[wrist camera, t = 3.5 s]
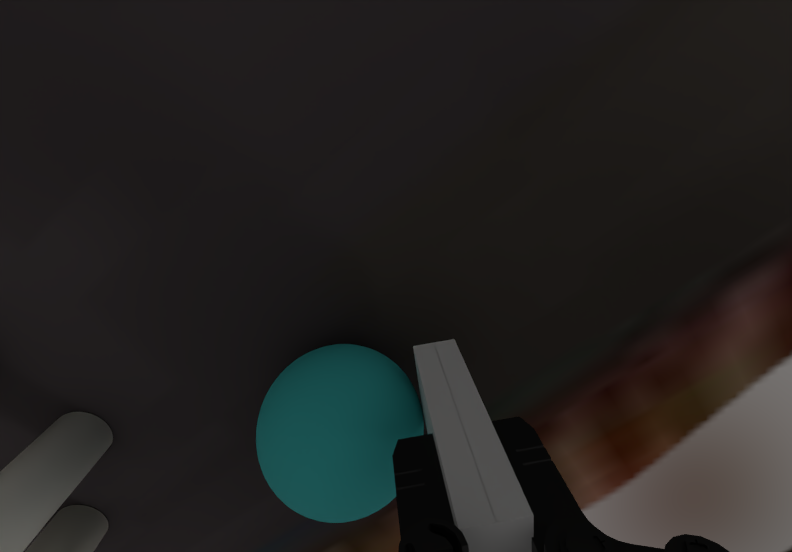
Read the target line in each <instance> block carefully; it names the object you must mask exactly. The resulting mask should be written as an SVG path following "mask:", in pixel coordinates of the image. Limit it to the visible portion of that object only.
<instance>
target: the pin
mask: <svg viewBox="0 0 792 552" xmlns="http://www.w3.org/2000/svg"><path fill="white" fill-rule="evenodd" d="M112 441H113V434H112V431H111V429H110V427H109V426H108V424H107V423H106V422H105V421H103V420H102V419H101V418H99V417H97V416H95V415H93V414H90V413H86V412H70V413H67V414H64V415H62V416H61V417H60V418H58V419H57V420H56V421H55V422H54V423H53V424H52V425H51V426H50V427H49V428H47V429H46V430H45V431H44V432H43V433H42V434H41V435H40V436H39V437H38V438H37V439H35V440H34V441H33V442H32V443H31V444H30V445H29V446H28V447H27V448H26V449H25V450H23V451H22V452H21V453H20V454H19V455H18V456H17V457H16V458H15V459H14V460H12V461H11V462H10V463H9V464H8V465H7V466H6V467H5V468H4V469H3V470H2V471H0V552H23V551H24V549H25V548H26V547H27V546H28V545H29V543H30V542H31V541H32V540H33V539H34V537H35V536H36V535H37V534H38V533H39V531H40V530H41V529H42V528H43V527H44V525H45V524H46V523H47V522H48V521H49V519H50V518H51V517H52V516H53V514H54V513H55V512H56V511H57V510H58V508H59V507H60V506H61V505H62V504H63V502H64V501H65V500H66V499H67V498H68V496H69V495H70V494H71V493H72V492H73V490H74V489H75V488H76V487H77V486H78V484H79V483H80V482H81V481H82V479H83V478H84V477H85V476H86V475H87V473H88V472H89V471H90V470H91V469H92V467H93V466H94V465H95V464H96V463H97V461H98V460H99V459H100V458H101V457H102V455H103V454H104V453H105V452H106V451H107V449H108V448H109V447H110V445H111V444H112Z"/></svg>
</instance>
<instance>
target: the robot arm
mask: <svg viewBox="0 0 792 552" xmlns="http://www.w3.org/2000/svg"><path fill="white" fill-rule="evenodd" d="M413 350H414V356H415V363H416V370H417V377H418V384H419V391H420V398H421V405H422V410H423V415H424V419H425V424H426V428H427V432H428V434H426V435H420V436H415V437H409V438H404V439H398V441H397V444H396V447H395V449H394V452H393V455H392V458H393V467H394V477H395V487H396V496H397V506H398V516H399V525H400V535H401V541H400V544H399V552H729V551H728V550H726V549H725V548H723V547H722V546H720V545H719V544H717V543H715V542H713V541H710V540H708V539H706V538H703V537H701V536H694V535H687V534H684V535H680V536H676V537H673V538H672V539H671V540H670V541H669V542H668V543H667V544H666V546H665V549H660V548H654V547H647V546H641V545H634V544H629V543H625V542H621V541H618V540H615V539H613V538H611V537H609V536H607V535H605V534H604V533H603V532H601V531H600V530H599V529H597V528H596V527H595V526H594V525H592V524H591V523H590V522H589V521H588V520H587V518H586V517H585V515H584V514H583V512H582V511H581V509H580V508H579V506H578V504H577V502H576V501H575V499H574V497H573V495H572V494H571V492H570V490H569V489H568V487H567V485H566V483H565V482H564V480H563V478H562V476H561V475H560V473H559V471H558V469H557V468H556V466H555V464H554V463H553V461H551V457H550V456H549V454H548V452H547V450H546V449H545V448H544V447H543V444H542V442H541V440H540V438H539V437H538V435H537V433H536V431H535V430H534V428H532V427H531V426H530V425H529V424H527V423H526V422H525V421H524V420H523V419H521V418H520V417H514V418H509V419H503V420H497V421H492V422H491V419H490V417H489V415H488V413H487V411H486V408H485V406H484V404H483V402H482V399H481V397H480V395H479V393H478V391H477V388H476V386H475V384H474V382H473V379H472V377H471V375H470V373H469V371H468V368H467V366H466V364H465V362H464V359H463V357H462V355H461V353H460V351H459V348H458V346H457V344H456V342H455V339H451V340H446V341H440V342H434V343H428V344H422V345H417V346H413Z"/></svg>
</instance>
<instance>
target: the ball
mask: <svg viewBox="0 0 792 552" xmlns="http://www.w3.org/2000/svg"><path fill="white" fill-rule="evenodd" d="M423 434H424V422H423V414H422V408H421V404H420V401H419V398H418V395H417V393H416V391H415V389H414V387H413V385H412V383H411V381H410V380H409V378H408V377H407V375H406V374H405V373H404V372H403V371H402V369H401V368H400V367H399V366H398V365H397V364H396V363H394V362H393V361H392V360H391V359H389V358H388V357H387V356H385V355H383V354H381V353H380V352H378V351H376V350H373V349H370V348H368V347H364V346H359V345H354V344H335V345H329V346H324V347H321V348H318V349H315V350H313V351H310V352H308V353H306V354H304V355H303V356H301V357H299V358H298V359H296V360H295V361H294V362H292V363H291V364H290V365H289V366H287V367H286V368H285V369H284V370H283V372H282V373H281V374H280V375H279V376H278V377H277V378H276V380H275V381H274V383H273V384H272V385H271V387H270V389H269V391H268V392H267V394H266V396H265V399H264V401H263V403H262V406H261V409H260V413H259V416H258V421H257V428H256V447H257V456H258V460H259V463H260V467H261V470H262V472H263V475H264V477H265V479H266V481H267V483H268V484H269V486H270V488H271V489H272V490H273V492H274V493H275V494H276V496H277V497H278V498H279V499H280V500H281V501H282V502H283V503H284V504H285V505H286V506H288V507H289V508H291V509H292V510H294V511H295V512H296V513H298V514H301V515H303V516H305V517H307V518H310V519H313V520H316V521H321V522H328V523H343V522H349V521H355V520H358V519H361V518H364V517H367V516H369V515H371V514H373V513H375V512H377V511H379V510H380V509H381V508H383V507H384V506H386V505H387V504H389V503H390V502H391V501H392V500H393V499H394V498H395V497H396V487H395V477H394V467H393V458H392V455H393V452H394V449H395V447H396V444H397V441H398V439H404V438H409V437H415V436H420V435H423Z"/></svg>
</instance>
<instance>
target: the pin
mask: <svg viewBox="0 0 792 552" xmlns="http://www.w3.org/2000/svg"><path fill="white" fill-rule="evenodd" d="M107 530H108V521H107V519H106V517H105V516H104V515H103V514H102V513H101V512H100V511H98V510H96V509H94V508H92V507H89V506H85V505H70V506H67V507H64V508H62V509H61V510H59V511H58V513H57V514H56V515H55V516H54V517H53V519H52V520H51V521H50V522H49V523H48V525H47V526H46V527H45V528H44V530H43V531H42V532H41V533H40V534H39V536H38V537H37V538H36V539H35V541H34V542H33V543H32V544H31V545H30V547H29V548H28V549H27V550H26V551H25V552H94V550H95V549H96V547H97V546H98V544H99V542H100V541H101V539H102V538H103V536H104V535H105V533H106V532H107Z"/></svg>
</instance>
